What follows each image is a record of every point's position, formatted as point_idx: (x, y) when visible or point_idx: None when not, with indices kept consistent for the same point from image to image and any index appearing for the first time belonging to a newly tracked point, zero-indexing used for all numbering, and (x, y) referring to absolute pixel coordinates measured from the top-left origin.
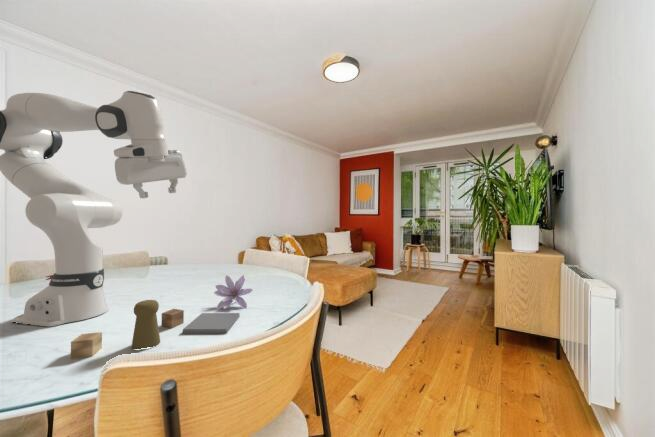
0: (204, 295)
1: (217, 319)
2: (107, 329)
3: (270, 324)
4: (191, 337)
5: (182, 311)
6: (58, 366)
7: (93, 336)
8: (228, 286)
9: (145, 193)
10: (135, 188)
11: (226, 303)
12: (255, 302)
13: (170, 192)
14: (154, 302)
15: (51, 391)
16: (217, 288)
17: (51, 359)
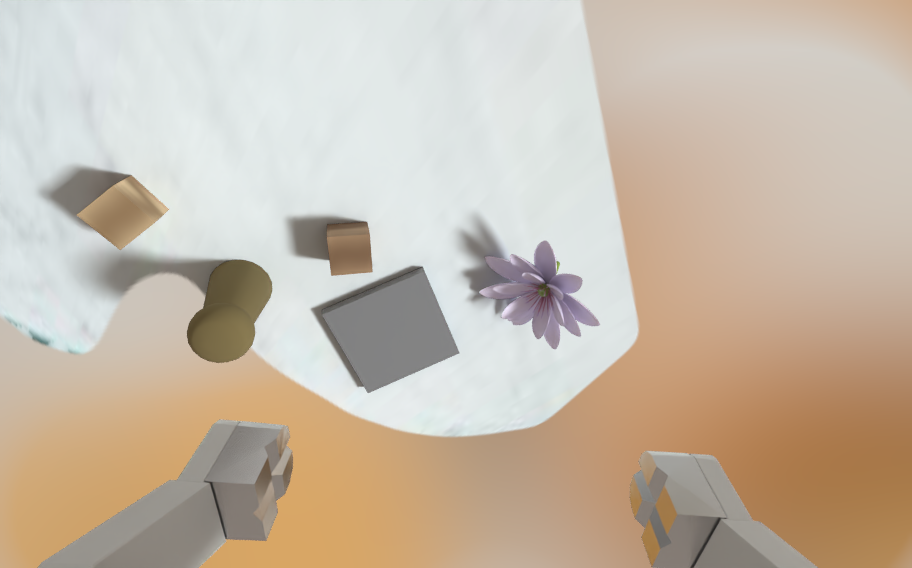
0: (592, 110)
1: (404, 338)
2: (234, 92)
3: (442, 427)
4: (317, 341)
5: (368, 271)
6: (67, 215)
7: (128, 232)
8: (557, 276)
9: (240, 521)
10: (85, 554)
11: (502, 284)
12: None
13: (643, 475)
14: (231, 359)
15: (36, 309)
16: (541, 245)
17: (63, 159)
